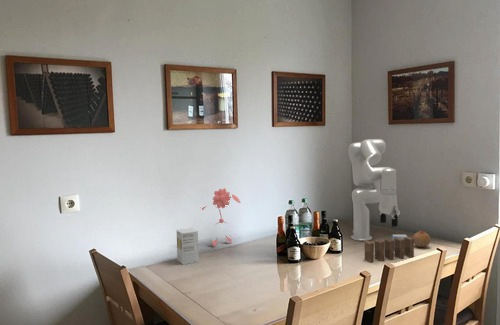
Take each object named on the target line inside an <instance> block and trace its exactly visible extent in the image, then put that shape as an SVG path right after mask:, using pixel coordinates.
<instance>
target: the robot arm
mask: <svg viewBox="0 0 500 325" xmlns="http://www.w3.org/2000/svg"><path fill="white" fill-rule="evenodd" d="M386 150H387V144H386V142H385V141H384V139H381V138H375V139H374V138H368V139H364V140H362V141H359V142H357V141H356V142H352V143H350V145H349V146H348V157H349V159H350V163H351V168H352V170H351V172H352V182H353V184H354V186H357V188H355V189H353V190H352V192H351V199H352V208H353V209H352V211H353V212H352V213H353V230H352V231H351V232H352V233H353V234H352V235H351V236H350V239H351V240H354V241H359V242H360V241H361V242H365V241H371V240H372V239H373V237H372V235H370V209H369V208H368V207H367V205H366V204H377V203H378V204H379V205H378V206H377V208H378V209H377V210H378V212H379V216H380V217H379V218H380V219H379V220H380V221H379V222H380V224H384V223H387V215H388V216H391V227H392V228H393V227H398V225H399V224H398V220H399V217H400V214H401V211H400V209H399V208H398V207H399V205H398V196H397V169H396V168H392V167H390V166H375V165H377V164H379V163H380V161H381V160H382V154H384V153H385V152H386ZM364 159H365V160H364ZM373 166H375V167H373ZM367 186H370V187H367ZM359 187H360V188H359Z"/></svg>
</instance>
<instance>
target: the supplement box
mask: <svg viewBox="0 0 500 325" xmlns="http://www.w3.org/2000/svg"><path fill="white" fill-rule="evenodd" d="M176 251H177V252H176V256H177V259H176V260H177V261H178V262H179V263H180V264H182V265H187V264H193V263H199V262H200V261H199V260H200V259H199V232H198V230H196V229H194V228H193V227H190V228H182V229H177V230H176Z"/></svg>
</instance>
